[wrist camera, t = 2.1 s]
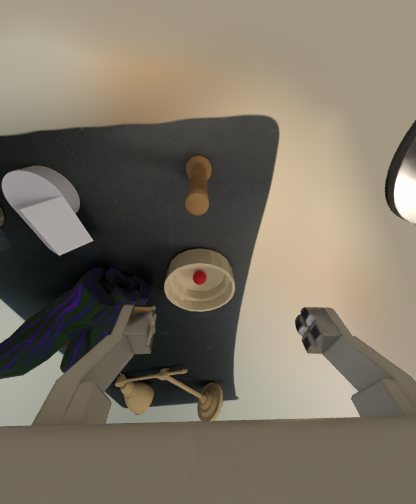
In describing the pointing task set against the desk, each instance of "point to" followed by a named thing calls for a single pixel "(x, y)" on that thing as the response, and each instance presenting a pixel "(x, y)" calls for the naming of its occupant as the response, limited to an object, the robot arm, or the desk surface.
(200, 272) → the berry
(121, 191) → the desk surface
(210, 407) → the desk lamp
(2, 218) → the figurine
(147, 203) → the desk surface
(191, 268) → the bowl
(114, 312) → the decorative plant
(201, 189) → the wooden pestle
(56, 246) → the wedge on round base
